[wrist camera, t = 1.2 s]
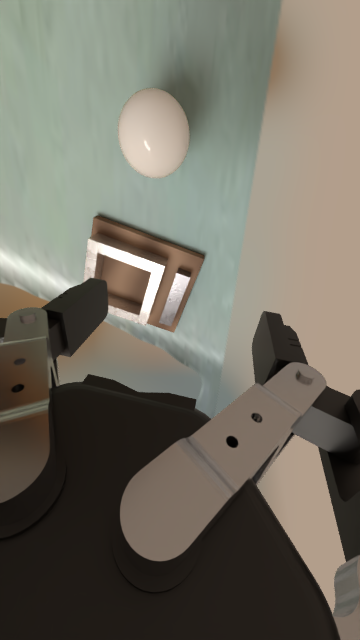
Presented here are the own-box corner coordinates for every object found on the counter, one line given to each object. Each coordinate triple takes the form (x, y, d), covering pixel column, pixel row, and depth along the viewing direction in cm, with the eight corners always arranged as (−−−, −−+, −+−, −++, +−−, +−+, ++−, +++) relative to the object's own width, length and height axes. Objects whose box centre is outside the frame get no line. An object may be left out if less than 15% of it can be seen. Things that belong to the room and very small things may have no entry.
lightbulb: (200, 164, 29) (194, 167, 20) (151, 180, 30) (125, 190, 21) (187, 96, 26) (172, 61, 16) (133, 118, 27) (92, 97, 18)
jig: (87, 297, 41) (75, 310, 38) (98, 215, 33) (83, 222, 30) (175, 327, 43) (171, 343, 39) (204, 255, 35) (203, 267, 31)
